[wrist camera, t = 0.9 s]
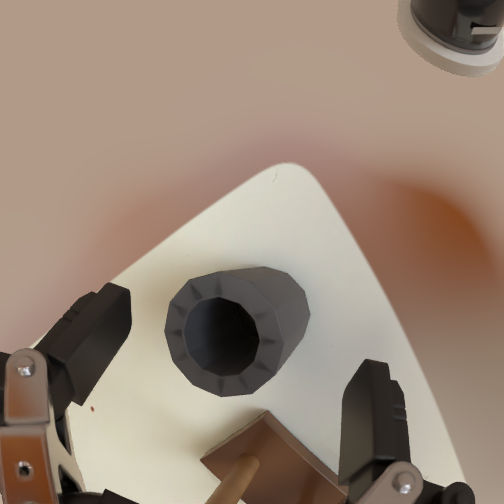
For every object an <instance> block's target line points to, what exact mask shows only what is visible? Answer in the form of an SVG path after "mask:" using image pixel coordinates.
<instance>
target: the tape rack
mask: <svg viewBox="0 0 504 504" xmlns="http://www.w3.org/2000/svg"><path fill="white" fill-rule="evenodd" d="M200 461H201V462H202V463H203V464H204V465H205V466H206V467H207V468H208V469H209V470H210V471H211V472H212V473H213V474H214V475H215V476H216V477H217V478H218V479H219V480H220V481H221V483H220V485H219V486H218V487H217V488H216V490H215V491H214V492H213V494H212V495H211V496H210V498H209V499H208V500H207V501H206V503H205V504H237V503H238V501H239V500H240V498H241V499H242V500H243V501H244V502H245V503H246V504H338V503H339V502H340V501H341V500H342V499H343V498H344V497H345V496H346V495H348V489H349V487H348V486H338V476H337V475H336V474H335V473H334V472H333V471H332V470H331V469H329V468H328V467H327V466H326V465H325V464H324V463H323V462H322V461H320V460H319V459H318V458H317V457H316V456H315V455H314V454H313V453H312V452H311V451H309V450H308V449H307V448H306V447H305V446H304V445H303V444H302V443H301V442H300V441H299V440H298V439H297V438H296V437H295V436H293V435H292V434H291V433H290V432H289V431H288V430H287V429H286V428H285V427H284V426H283V425H282V424H281V423H280V422H279V421H278V420H277V419H276V418H275V417H274V416H273V415H272V414H271V413H270V412H269V411H266V412H265V413H263V414H262V415H261V416H259V417H258V418H256V419H255V420H254V421H252V422H251V423H249V424H248V425H247V426H245V427H244V428H242V429H241V430H239V431H238V432H236V433H235V434H234V435H232V436H231V437H229V438H228V439H226V440H225V441H223V442H222V443H220V444H219V445H217V446H216V447H214V448H212V449H211V450H209V451H208V452H206V453H205V454H204V456H203V457H202V458H201V459H200Z"/></svg>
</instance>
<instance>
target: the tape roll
mask: <svg viewBox="0 0 504 504" xmlns="http://www.w3.org/2000/svg"><path fill="white" fill-rule="evenodd" d="M239 305H241V306H242V307H243V308H244V309H245V310H246V311H247V312H248V314H249V315H250V316H251V317H252V318H253V319H254V321H255V324H256V328H257V332H258V336H259V338H257V337H254V336H251V335H250V334H249V333H248V331H247V330H246V329H245V328H244V327H243V326H242V325H241V321H240V318H239V314H238V309H239ZM309 317H310V311H309V307H308V303H307V299H306V295H305V291H304V290H303V289H302V288H301V287H300V286H299V285H298V284H297V283H296V282H295V281H294V280H293V278H292V277H291V276H290V275H289V274H288V273H285V272H282V271H278V270H274V269H271V268H267V267H258V268H248V269H239V270H229V271H220V272H215V273H212V274H208V275H205V276H201V277H197V278H194V279H190V280H189V281H188V282H187V283H186V284H185V285H184V286H183V287H182V289H181V290H180V291H179V292H178V293H177V294H176V295H175V297H174V298H173V299H172V300H171V301H170V304H169V309H168V314H167V320H166V325H165V330H164V332H165V336H166V339H167V343H168V347H169V350H170V354H171V357H172V360H173V362H174V364H175V365H176V366H177V367H178V368H179V370H180V371H181V372H182V373H183V374H184V375H185V376H186V378H187V379H188V380H189V381H190V382H191V383H192V385H194V386H196V387H199V388H201V389H203V390H206V391H208V392H210V393H212V394H215V395H217V396H220V397H228V396H238V395H247V394H253V393H254V392H255V391H256V390H258V389H259V388H260V387H261V386H263V385H264V384H265V383H266V382H267V381H269V380H270V379H271V378H272V377H274V376H275V375H276V373H277V372H278V371H279V370H280V368H281V367H282V366H283V364H284V363H285V362H286V360H287V359H288V358H289V356H290V355H291V353H292V352H293V351H294V349H295V348H296V347H297V345H298V344H299V343H300V341H301V340H302V338H303V337H304V334H305V331H306V327H307V324H308V321H309Z"/></svg>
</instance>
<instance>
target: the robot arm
mask: <svg viewBox="0 0 504 504" xmlns="http://www.w3.org/2000/svg"><path fill="white" fill-rule="evenodd" d="M410 10H411V14H412V17H413V19H414V21H415V22H416V24H417V25H418V27H419V28H420V29H421V30H422V31H423V32H424V33H425V34H426V35H427V36H429V37H430V38H431V39H432V40H434V41H435V42H437V43H439V44H440V45H442V46H444V47H446V48H448V49H450V50H453V51H456V52H459V53H463V54H469V55H480V54H484V53H487V52H489V51H490V50H491V49H492V48H493V47H494V45H495V43H496V41H497V38H498V35H499V33H500V31H501V29H502V27H503V25H504V0H411V5H410ZM131 325H132V316H131V296H130V291H129V289H127V288H124V287H121V286H118V285H116V284H113V283H110V282H109V283H107V284H105V285H104V286H103V287H102V289H101V290H100V291H99V292H98V293H94V292H90V293H88V294H86V295H84V296H83V297H81V298H79V299H78V300H77V301H76V302H75V303H74V304H73V305H72V306H71V308H70V310H68V311H67V312H66V313H65V314H64V315H63V317H62V318H61V319H59V321H58V322H57V323H56V324H55V325H54V326H53V327H52V328H51V329H50V331H49V332H48V333H47V334H46V335H45V336H44V337H43V339H42V340H41V341H40V342H39V343H38V344H37V345H36V346H35V347H34V348H33V349H31V348H24V349H20V350H18V351H16V352H14V353H13V354H7V353H3V352H0V486H1V494H2V499H3V504H139V503H136V502H134V501H132V500H129V499H127V498H125V497H122V496H120V495H118V494H116V493H114V492H111V491H109V490H107V489H105V490H104V492H103V494H102V493H96V492H86V488H85V484H84V481H83V477H82V474H81V471H80V469H79V466H78V464H77V461H76V458H75V453H74V448H73V443H72V437H71V431H70V424H69V418H68V411H67V407H68V406H69V404H70V403H71V401H73V402H74V403H76V404H78V405H80V406H82V405H83V404H84V402H85V401H86V399H87V397H88V396H89V394H90V393H91V391H92V390H93V388H94V387H95V385H96V384H97V382H98V380H99V379H100V377H101V376H102V374H103V373H104V371H105V370H106V368H107V367H108V365H109V364H110V362H111V361H112V359H113V358H114V356H115V355H116V353H117V352H118V350H119V349H120V347H121V346H122V345H123V343H124V342H125V340H126V339H127V337H128V335H129V333H130V330H131ZM406 418H407V416H406V410H405V400H404V393H403V391H402V390H401V388H400V386H399V384H398V382H397V381H395V380H391V379H390V371H389V366H388V364H387V363H384V362H379V361H374V360H370V359H365V360H364V361H363V362H362V364H361V365H360V367H359V368H358V370H357V371H356V373H355V374H354V376H353V377H352V379H351V380H350V382H349V383H348V385H347V386H346V389H345V391H344V394H343V399H342V421H341V443H340V460H339V474H338V486H348V487H349V489H348V495H346V496H345V497H344V498H343V499H342V500H341V501H340V502H339V503H338V504H475V496H474V493H473V491H472V489H471V488H470V487H469V486H468V485H467V484H465V483H463V482H455V483H452V484H451V485H449V486H447V487H446V488H445V487H442V486H439V485H436V484H434V483H431V482H428V481H426V480H424V479H423V477H422V475H421V473H420V471H419V470H418V468H417V467H416V466H414V465H413V464H411V458H410V446H409V435H408V425H407V421H406Z"/></svg>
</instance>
